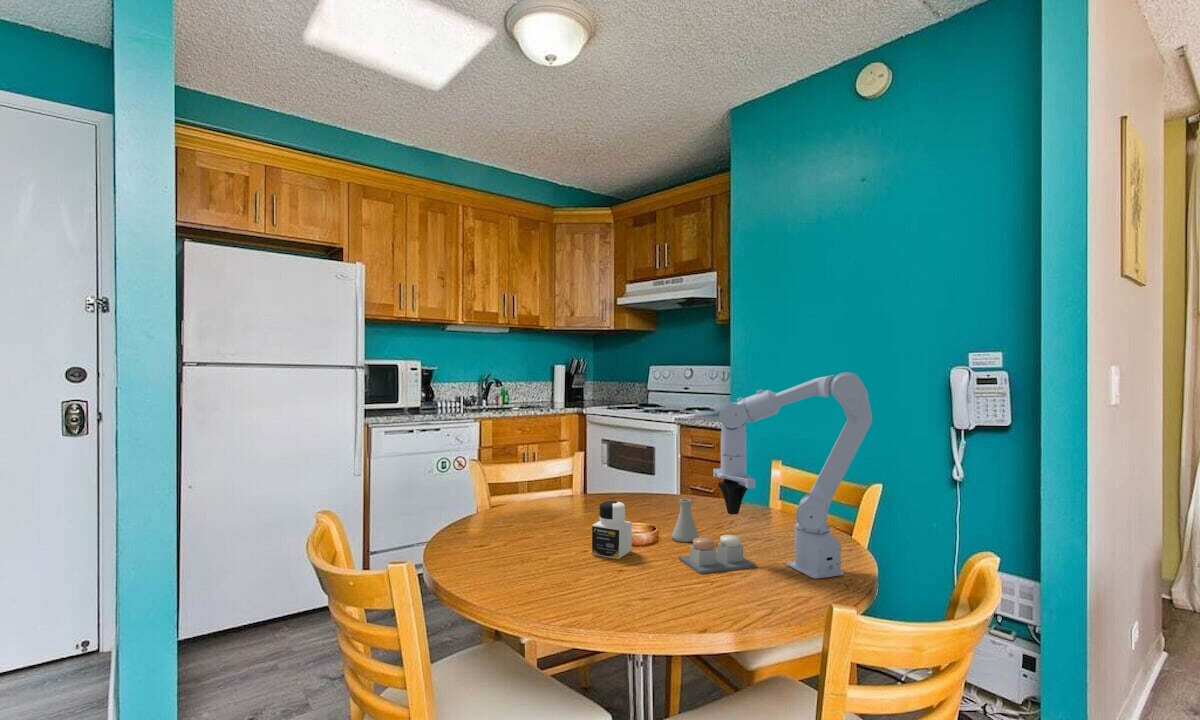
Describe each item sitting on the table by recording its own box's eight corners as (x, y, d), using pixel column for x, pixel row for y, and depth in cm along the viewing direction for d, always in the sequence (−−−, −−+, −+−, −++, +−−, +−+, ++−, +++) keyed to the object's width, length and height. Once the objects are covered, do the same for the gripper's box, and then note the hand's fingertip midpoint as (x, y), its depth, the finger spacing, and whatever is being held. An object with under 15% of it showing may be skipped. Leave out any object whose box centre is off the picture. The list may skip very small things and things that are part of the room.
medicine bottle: (591, 555, 139) (591, 503, 139) (605, 546, 145) (605, 497, 145) (618, 559, 135) (619, 507, 136) (631, 551, 142) (632, 501, 142)
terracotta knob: (716, 562, 131) (716, 542, 131) (698, 564, 130) (699, 544, 130) (706, 556, 135) (706, 536, 135) (689, 558, 134) (689, 538, 134)
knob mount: (756, 567, 131) (756, 549, 131) (699, 573, 127) (700, 556, 127) (731, 553, 141) (731, 537, 141) (678, 559, 136) (678, 542, 136)
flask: (698, 535, 156) (699, 497, 156) (700, 543, 148) (700, 503, 148) (670, 534, 156) (671, 496, 156) (671, 542, 149) (671, 502, 149)
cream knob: (744, 559, 133) (744, 539, 134) (726, 561, 132) (727, 541, 132) (733, 553, 138) (733, 534, 138) (716, 555, 136) (716, 535, 136)
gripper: (702, 451, 143) (702, 507, 142) (736, 460, 129) (735, 522, 129) (727, 449, 145) (727, 505, 145) (763, 458, 131) (763, 520, 131)
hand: (733, 513), depth 137 cm, fingers closed
